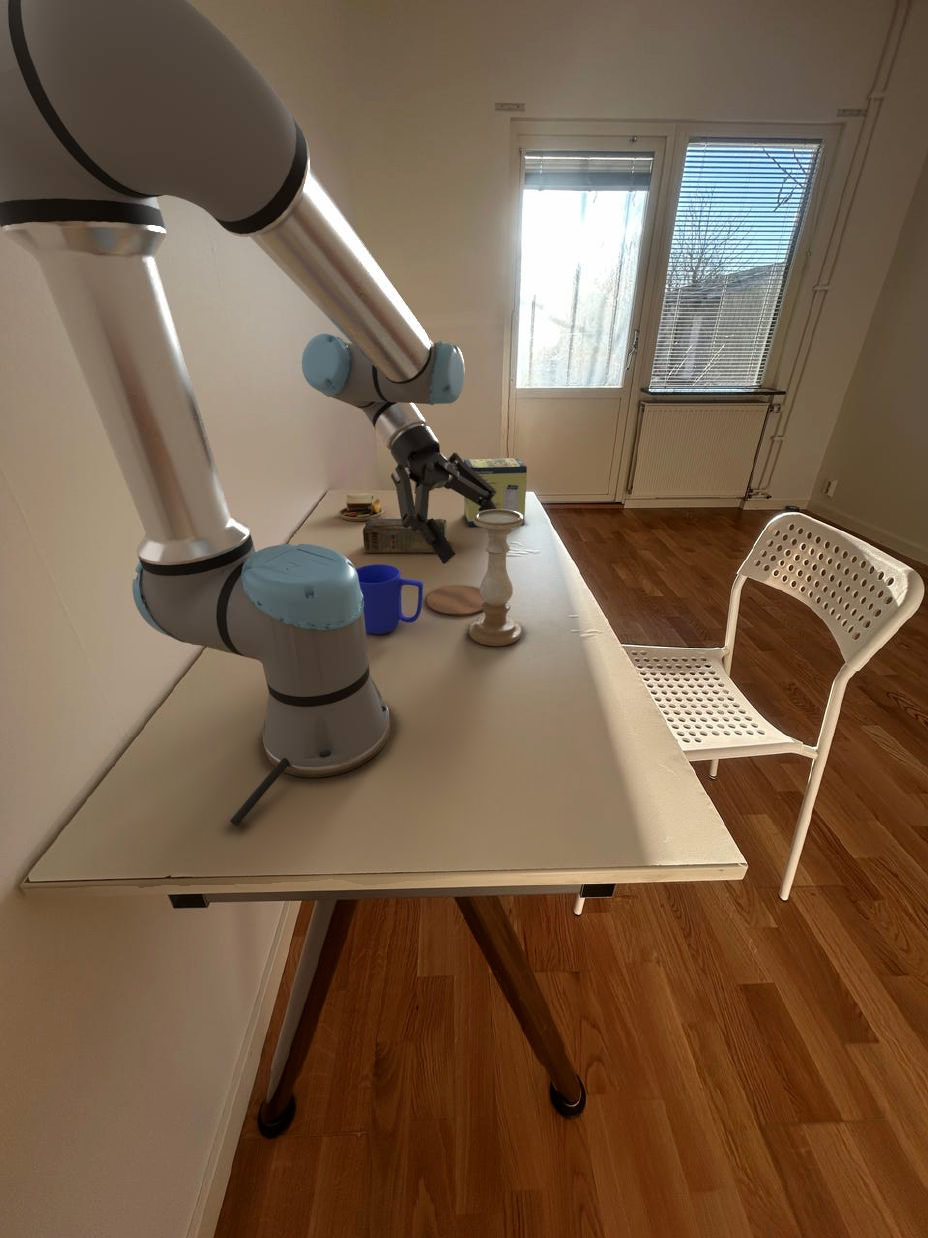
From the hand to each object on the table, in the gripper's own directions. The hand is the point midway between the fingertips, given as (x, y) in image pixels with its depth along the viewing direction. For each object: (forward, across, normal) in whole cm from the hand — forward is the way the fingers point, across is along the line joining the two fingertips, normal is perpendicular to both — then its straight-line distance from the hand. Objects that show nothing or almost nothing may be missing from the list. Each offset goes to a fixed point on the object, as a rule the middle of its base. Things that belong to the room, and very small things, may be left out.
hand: (478, 547), depth 82 cm
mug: (+3, +10, -18) cm, 21 cm away
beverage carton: (-16, -18, -37) cm, 44 cm away
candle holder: (+13, 0, -8) cm, 15 cm away
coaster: (+4, -5, -16) cm, 18 cm away
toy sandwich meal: (-37, -28, -58) cm, 74 cm away
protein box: (-15, -48, -35) cm, 62 cm away
